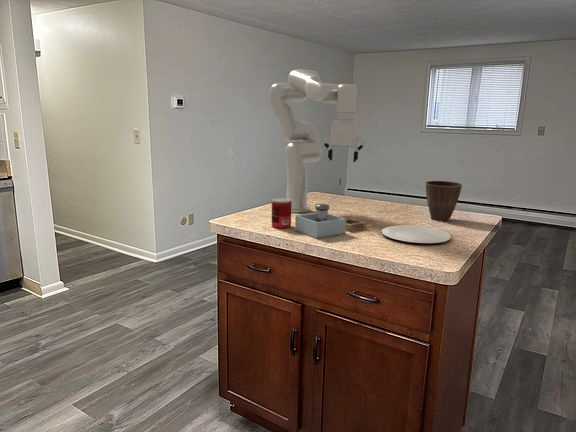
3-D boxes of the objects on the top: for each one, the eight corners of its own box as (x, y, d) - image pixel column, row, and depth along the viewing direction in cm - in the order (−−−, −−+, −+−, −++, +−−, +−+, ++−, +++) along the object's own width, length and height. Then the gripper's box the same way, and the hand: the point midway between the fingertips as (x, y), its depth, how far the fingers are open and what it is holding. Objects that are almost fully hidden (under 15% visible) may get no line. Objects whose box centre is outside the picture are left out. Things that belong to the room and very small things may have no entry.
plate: (398, 225, 184) (399, 221, 183) (460, 237, 168) (460, 232, 168) (369, 237, 165) (369, 233, 164) (434, 251, 149) (435, 246, 149)
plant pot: (458, 224, 186) (462, 187, 182) (421, 221, 190) (424, 184, 187) (457, 217, 200) (461, 182, 196) (423, 214, 204) (426, 180, 201)
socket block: (334, 226, 179) (334, 220, 178) (351, 224, 183) (351, 218, 183) (348, 231, 171) (349, 225, 171) (366, 228, 176) (366, 222, 175)
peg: (313, 232, 167) (314, 206, 165) (315, 228, 172) (316, 203, 170) (327, 233, 166) (328, 207, 164) (328, 229, 171) (329, 204, 169)
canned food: (293, 225, 180) (294, 198, 177) (287, 229, 172) (287, 202, 170) (275, 223, 182) (276, 197, 180) (268, 227, 175) (268, 200, 172)
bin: (295, 230, 171) (295, 215, 170) (323, 226, 178) (323, 211, 177) (316, 239, 160) (316, 222, 159) (345, 234, 167) (346, 218, 166)
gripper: (321, 116, 172) (319, 160, 176) (366, 118, 168) (363, 163, 172) (325, 116, 179) (322, 158, 183) (368, 117, 175) (365, 161, 179)
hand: (342, 160), depth 178 cm, fingers open, 9 cm apart
